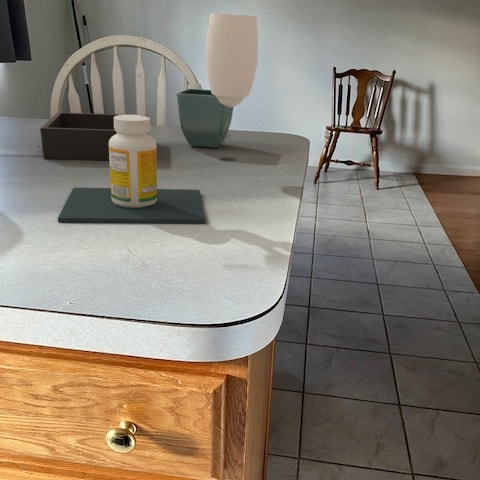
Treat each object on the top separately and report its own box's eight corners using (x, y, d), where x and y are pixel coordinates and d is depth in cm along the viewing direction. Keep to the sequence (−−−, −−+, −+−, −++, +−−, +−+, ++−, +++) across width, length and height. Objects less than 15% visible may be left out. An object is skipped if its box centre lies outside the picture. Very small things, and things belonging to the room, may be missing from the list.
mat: (58, 222, 58) (57, 217, 58) (73, 191, 69) (73, 187, 69) (205, 223, 61) (205, 219, 60) (199, 193, 71) (199, 189, 71)
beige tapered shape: (214, 177, 79) (219, 13, 69) (196, 165, 84) (198, 12, 74) (258, 174, 82) (269, 16, 72) (238, 163, 87) (246, 15, 77)
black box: (43, 158, 83) (40, 128, 81) (60, 138, 96) (57, 112, 94) (147, 161, 85) (146, 131, 83) (149, 141, 98) (148, 115, 96)
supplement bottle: (110, 209, 62) (105, 120, 57) (112, 195, 66) (107, 112, 62) (158, 209, 63) (156, 122, 58) (156, 195, 67) (155, 114, 63)
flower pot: (187, 138, 103) (188, 87, 98) (233, 142, 102) (236, 91, 97) (175, 147, 95) (175, 92, 91) (225, 152, 94) (227, 96, 90)
